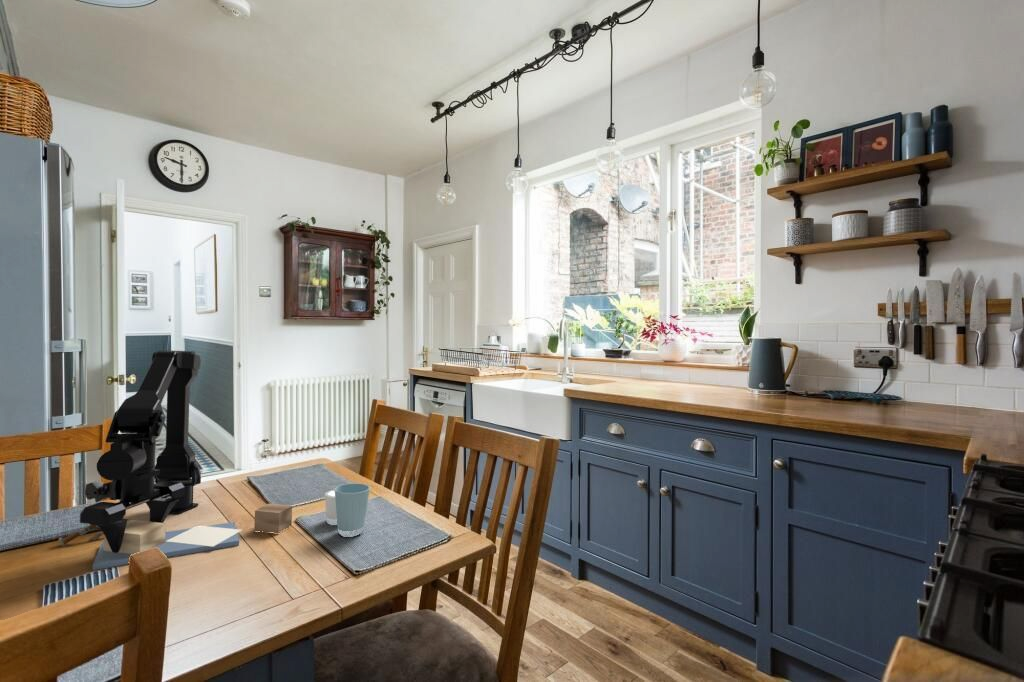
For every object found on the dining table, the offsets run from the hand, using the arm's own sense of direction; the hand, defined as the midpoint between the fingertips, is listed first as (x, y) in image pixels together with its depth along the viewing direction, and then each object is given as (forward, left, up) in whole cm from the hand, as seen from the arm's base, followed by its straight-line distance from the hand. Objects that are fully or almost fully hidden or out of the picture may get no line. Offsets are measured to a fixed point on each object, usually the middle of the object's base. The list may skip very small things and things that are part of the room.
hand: (135, 543), depth 102 cm
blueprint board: (-4, +5, -2) cm, 6 cm away
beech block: (0, 0, -1) cm, 1 cm away
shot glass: (-25, +31, -2) cm, 40 cm away
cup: (-19, +37, -2) cm, 42 cm away
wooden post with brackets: (-2, -14, -2) cm, 14 cm away
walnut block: (-17, +19, -2) cm, 26 cm away
